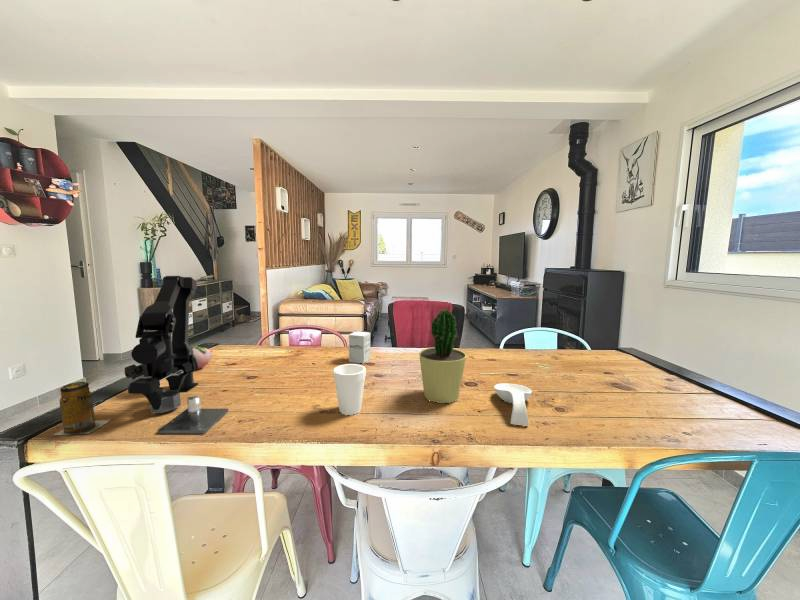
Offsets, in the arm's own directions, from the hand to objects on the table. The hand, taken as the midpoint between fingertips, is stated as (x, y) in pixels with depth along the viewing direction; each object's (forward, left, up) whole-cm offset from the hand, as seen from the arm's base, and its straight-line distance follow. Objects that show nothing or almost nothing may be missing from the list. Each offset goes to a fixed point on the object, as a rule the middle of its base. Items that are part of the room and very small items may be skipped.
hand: (165, 403), depth 96 cm
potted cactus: (-10, +84, -2) cm, 85 cm away
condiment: (+10, -15, -2) cm, 18 cm away
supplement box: (-46, +53, -2) cm, 70 cm away
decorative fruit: (-35, -11, -2) cm, 37 cm away
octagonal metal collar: (0, 0, -1) cm, 1 cm away
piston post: (+7, +13, -2) cm, 15 cm away
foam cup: (0, +55, -2) cm, 55 cm away
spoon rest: (-2, +106, -2) cm, 106 cm away
